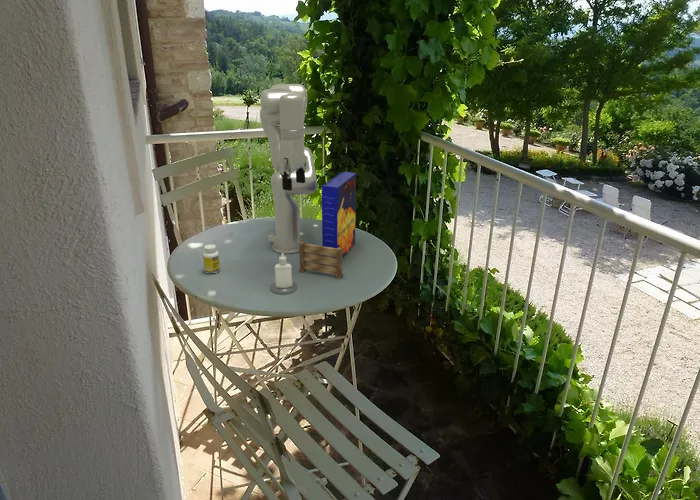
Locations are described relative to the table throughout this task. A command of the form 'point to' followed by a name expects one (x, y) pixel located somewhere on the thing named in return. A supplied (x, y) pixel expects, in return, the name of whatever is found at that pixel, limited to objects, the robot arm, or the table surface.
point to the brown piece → (321, 259)
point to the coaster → (283, 289)
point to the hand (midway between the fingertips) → (294, 186)
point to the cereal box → (339, 212)
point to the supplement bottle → (211, 259)
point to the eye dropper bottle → (283, 273)
